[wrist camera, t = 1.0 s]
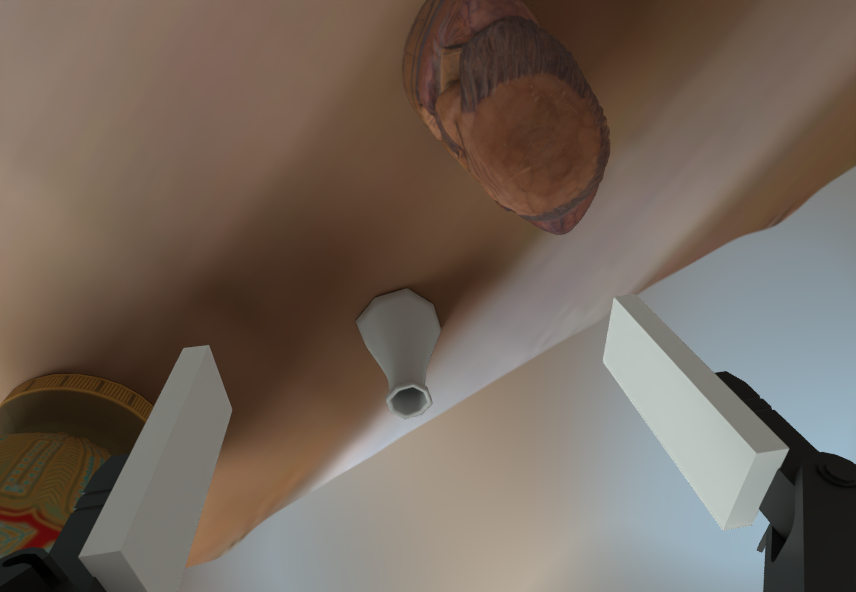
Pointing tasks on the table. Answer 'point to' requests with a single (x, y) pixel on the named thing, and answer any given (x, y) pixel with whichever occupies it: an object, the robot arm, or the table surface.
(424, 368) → the flask
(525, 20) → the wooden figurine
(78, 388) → the vase
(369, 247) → the table surface
